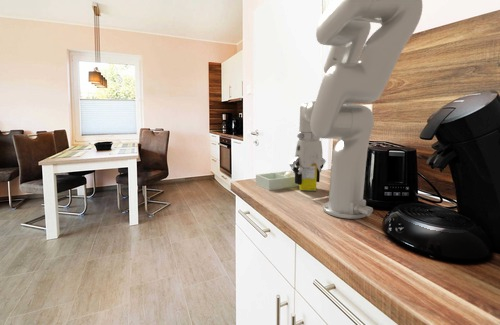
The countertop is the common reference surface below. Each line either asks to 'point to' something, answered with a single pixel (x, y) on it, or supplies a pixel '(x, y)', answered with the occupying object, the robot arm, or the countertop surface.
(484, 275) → the countertop surface
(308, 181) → the supplement box
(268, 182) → the tray
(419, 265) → the countertop surface
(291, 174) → the egg
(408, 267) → the countertop surface
